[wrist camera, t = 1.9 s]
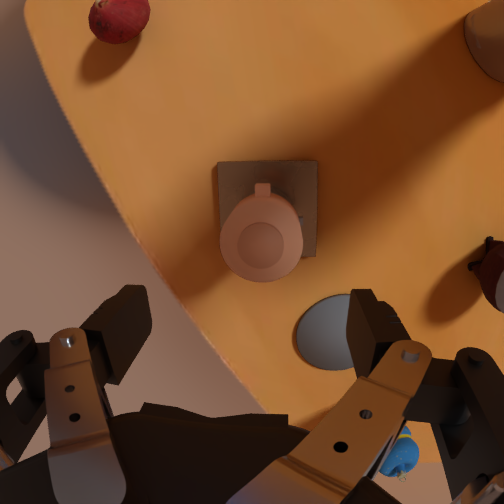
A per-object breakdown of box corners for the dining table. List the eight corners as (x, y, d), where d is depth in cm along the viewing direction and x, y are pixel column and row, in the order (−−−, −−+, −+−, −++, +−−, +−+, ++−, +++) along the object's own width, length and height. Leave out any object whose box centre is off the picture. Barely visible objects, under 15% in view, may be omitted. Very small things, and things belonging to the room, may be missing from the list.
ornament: (366, 371, 36) (392, 469, 22) (401, 374, 36) (435, 466, 22) (351, 399, 38) (368, 494, 23) (385, 402, 37) (409, 491, 23)
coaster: (389, 292, 32) (391, 295, 31) (375, 365, 35) (376, 368, 35) (298, 294, 33) (298, 296, 32) (294, 367, 36) (294, 371, 36)
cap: (300, 182, 22) (304, 192, 18) (299, 268, 25) (302, 296, 20) (227, 183, 23) (214, 193, 19) (231, 268, 25) (221, 295, 21)
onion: (144, 56, 26) (105, 37, 19) (102, 44, 26) (59, 26, 18) (171, 9, 24) (140, -23, 17) (127, -1, 24) (90, -28, 16)
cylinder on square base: (316, 160, 28) (326, 166, 22) (314, 253, 31) (322, 283, 25) (219, 161, 29) (201, 168, 23) (223, 252, 32) (209, 282, 26)
